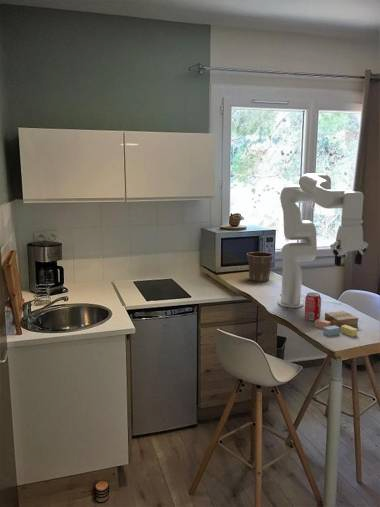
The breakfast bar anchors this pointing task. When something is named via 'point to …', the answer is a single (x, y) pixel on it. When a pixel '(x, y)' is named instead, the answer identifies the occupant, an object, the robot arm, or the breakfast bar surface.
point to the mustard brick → (349, 330)
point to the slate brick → (331, 330)
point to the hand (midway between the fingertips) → (347, 264)
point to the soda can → (312, 306)
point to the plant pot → (259, 265)
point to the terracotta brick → (322, 323)
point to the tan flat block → (341, 319)
